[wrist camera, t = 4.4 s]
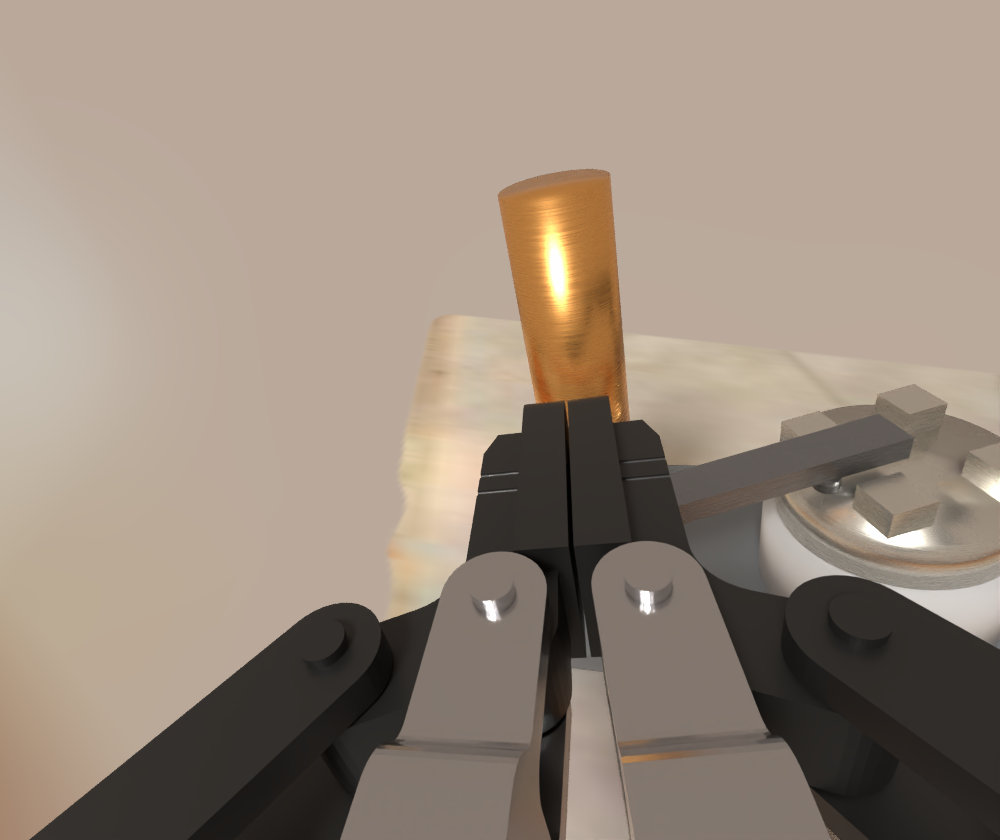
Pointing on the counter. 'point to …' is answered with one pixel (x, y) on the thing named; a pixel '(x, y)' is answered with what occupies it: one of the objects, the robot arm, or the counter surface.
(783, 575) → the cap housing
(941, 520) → the hub and bar
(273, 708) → the robot arm
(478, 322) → the counter surface
